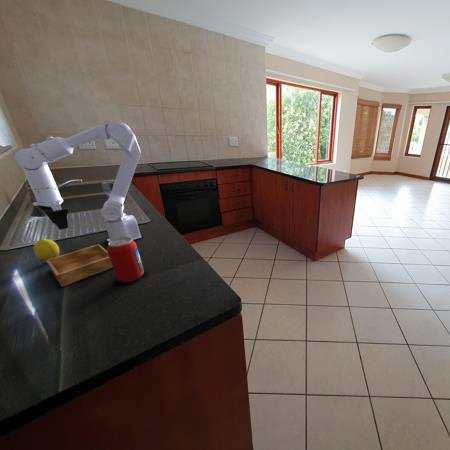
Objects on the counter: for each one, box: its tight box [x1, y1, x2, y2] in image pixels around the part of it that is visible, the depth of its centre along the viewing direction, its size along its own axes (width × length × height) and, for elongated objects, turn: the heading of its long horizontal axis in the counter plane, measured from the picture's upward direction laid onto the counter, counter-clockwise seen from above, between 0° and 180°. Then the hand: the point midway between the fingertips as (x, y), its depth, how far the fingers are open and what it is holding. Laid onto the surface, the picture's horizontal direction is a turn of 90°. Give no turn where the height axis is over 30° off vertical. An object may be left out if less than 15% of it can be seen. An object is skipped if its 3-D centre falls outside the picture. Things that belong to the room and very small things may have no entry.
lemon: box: [33, 238, 60, 261], centre depth 77 cm, size 6×6×8 cm
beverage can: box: [106, 237, 145, 283], centre depth 68 cm, size 7×7×12 cm
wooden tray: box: [45, 243, 113, 287], centre depth 74 cm, size 13×13×4 cm
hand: (60, 225), depth 82 cm, fingers open, 7 cm apart
